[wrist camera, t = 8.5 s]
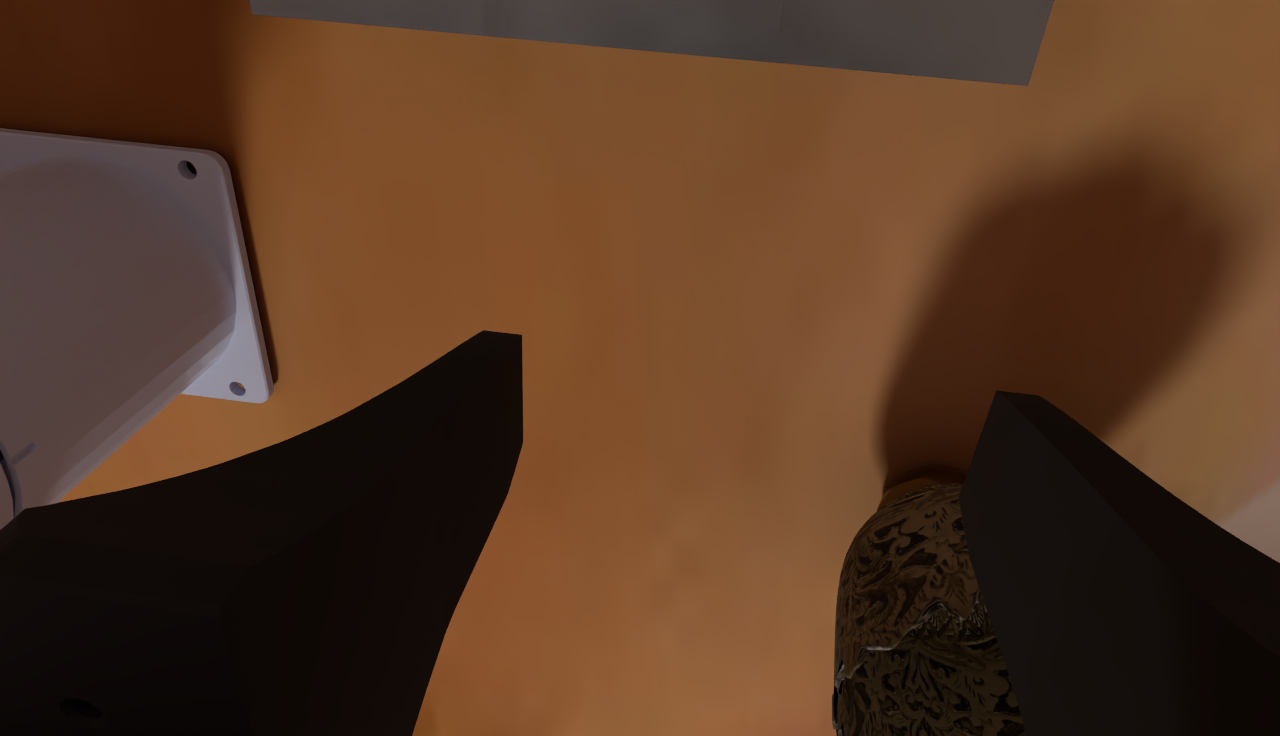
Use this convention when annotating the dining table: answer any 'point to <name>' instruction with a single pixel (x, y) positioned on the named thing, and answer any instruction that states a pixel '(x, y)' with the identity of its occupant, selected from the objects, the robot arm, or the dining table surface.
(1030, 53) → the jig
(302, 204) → the dining table surface
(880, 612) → the cup
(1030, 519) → the robot arm
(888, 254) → the dining table surface
